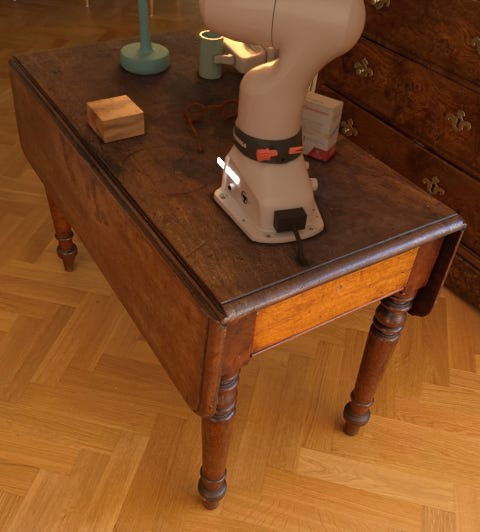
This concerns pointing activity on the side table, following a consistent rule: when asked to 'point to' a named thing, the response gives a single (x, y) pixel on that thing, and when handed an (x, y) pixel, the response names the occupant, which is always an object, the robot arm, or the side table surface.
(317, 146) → the ink box
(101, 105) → the block
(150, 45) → the mug tree
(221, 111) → the glasses
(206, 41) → the tumbler
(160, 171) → the side table surface
